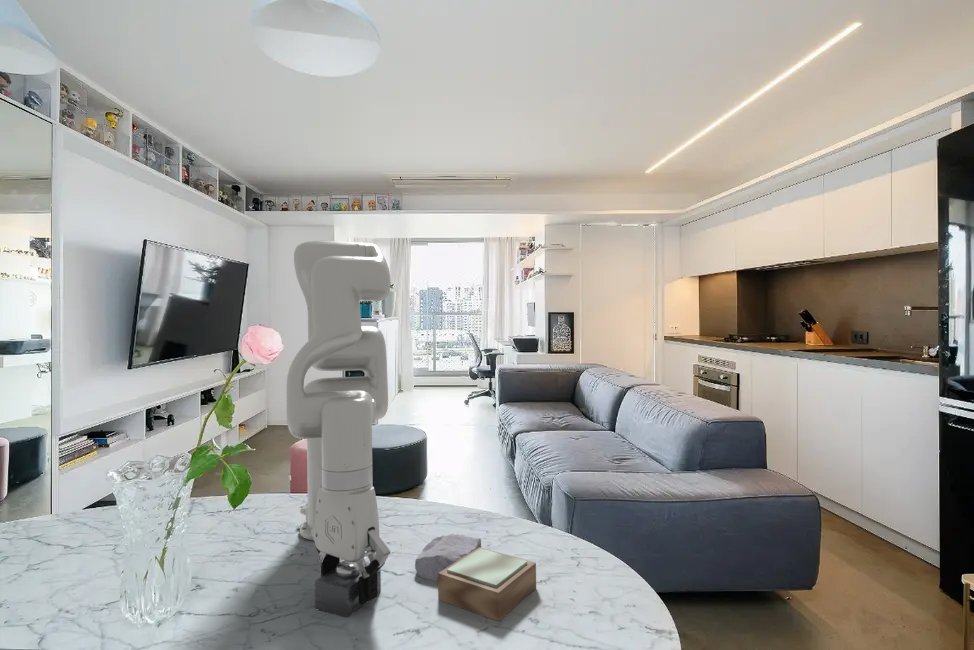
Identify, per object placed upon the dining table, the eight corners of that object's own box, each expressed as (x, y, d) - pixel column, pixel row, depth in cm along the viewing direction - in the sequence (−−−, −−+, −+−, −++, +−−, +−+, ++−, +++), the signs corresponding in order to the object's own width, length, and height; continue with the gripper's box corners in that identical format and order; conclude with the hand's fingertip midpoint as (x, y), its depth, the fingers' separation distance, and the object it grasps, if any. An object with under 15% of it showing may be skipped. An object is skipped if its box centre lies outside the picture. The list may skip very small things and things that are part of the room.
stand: (438, 599, 78) (437, 570, 78) (479, 570, 87) (479, 544, 87) (498, 621, 72) (498, 589, 72) (536, 588, 81) (535, 560, 81)
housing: (315, 610, 76) (314, 572, 76) (350, 585, 83) (349, 551, 83) (347, 619, 73) (347, 580, 73) (380, 592, 80) (380, 557, 80)
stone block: (412, 589, 85) (469, 583, 83) (407, 560, 85) (463, 553, 83) (436, 560, 96) (486, 554, 94) (431, 535, 97) (481, 528, 95)
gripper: (291, 475, 80) (292, 587, 80) (368, 493, 70) (370, 621, 70) (330, 464, 86) (331, 569, 86) (406, 480, 76) (407, 597, 76)
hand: (348, 592), depth 78 cm, fingers open, 7 cm apart
